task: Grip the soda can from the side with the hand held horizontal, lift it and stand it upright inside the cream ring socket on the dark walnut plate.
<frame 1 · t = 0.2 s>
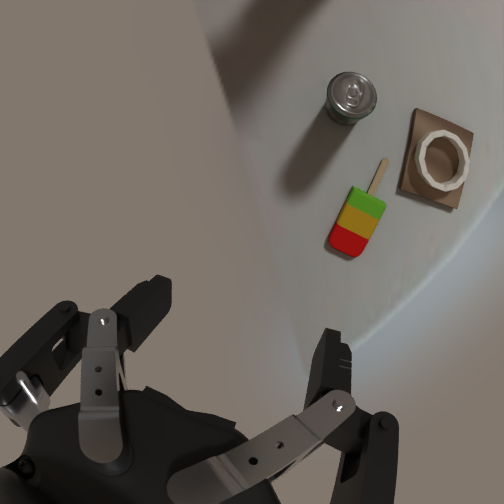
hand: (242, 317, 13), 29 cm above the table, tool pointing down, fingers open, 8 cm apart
socket plate: (437, 159, 31), on the table
popsicle: (363, 204, 37), on the table
soda can: (343, 108, 32), on the table
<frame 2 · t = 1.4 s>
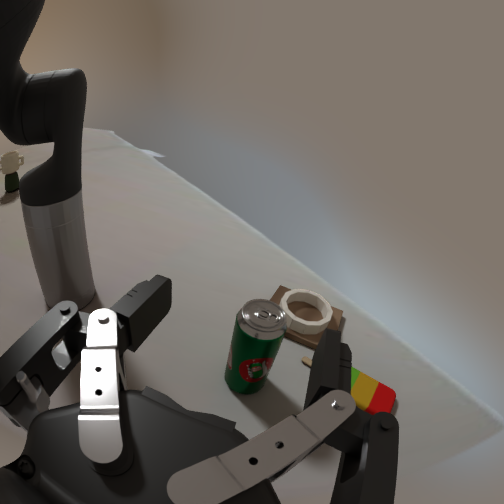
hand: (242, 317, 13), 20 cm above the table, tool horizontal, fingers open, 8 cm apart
socket plate: (301, 319, 43), on the table
popsicle: (344, 388, 33), on the table
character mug: (12, 190, 65), on the table
soda can: (243, 380, 32), on the table
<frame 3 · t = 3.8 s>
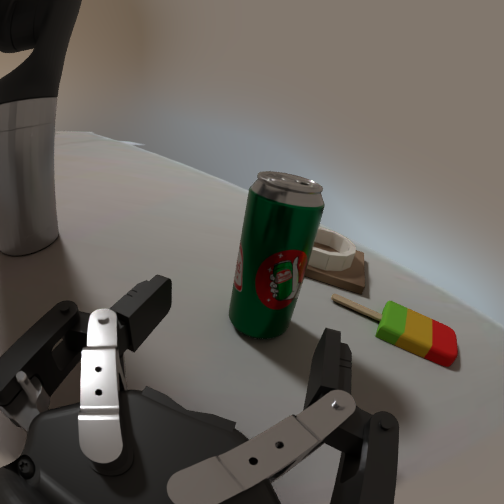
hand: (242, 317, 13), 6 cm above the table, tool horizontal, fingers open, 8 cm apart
socket plate: (318, 260, 35), on the table
popsicle: (391, 332, 25), on the table
soda can: (257, 323, 23), on the table
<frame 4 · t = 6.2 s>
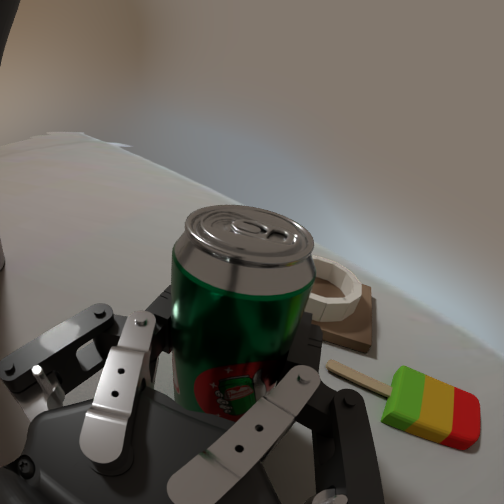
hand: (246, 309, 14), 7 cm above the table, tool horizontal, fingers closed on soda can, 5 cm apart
socket plate: (312, 301, 27), on the table
popsicle: (402, 407, 17), on the table
soda can: (217, 413, 15), on the table, touching gripper
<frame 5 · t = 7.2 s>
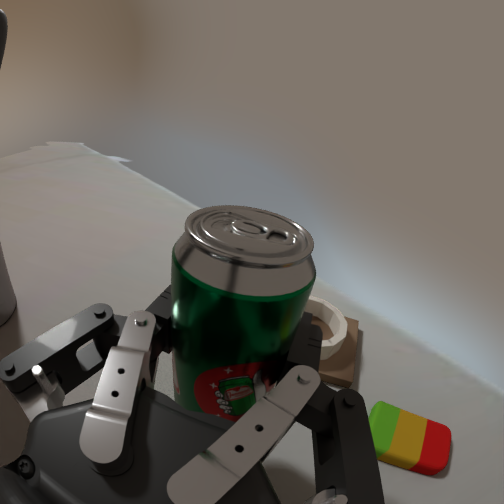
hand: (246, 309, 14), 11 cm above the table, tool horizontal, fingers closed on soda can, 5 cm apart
socket plate: (301, 338, 29), on the table
popsicle: (377, 437, 18), on the table
soda can: (217, 413, 15), point 5 cm above the table, touching gripper
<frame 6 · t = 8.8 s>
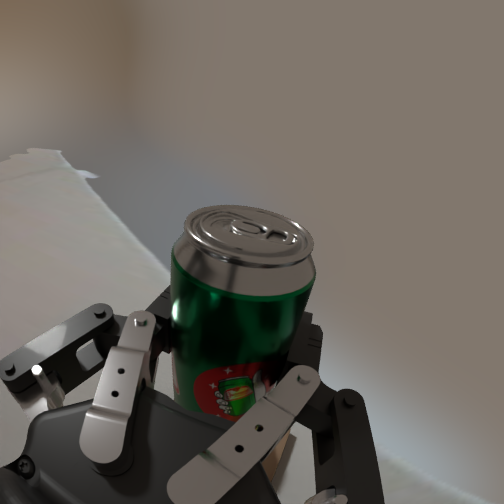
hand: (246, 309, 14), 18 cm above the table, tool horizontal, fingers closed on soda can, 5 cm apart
socket plate: (215, 449, 21), on the table
soda can: (217, 413, 15), point 11 cm above the table, touching gripper
when the fingers open (9 cm above the table, at t = 11.5 s): soda can drops 1 cm, resting on socket plate.
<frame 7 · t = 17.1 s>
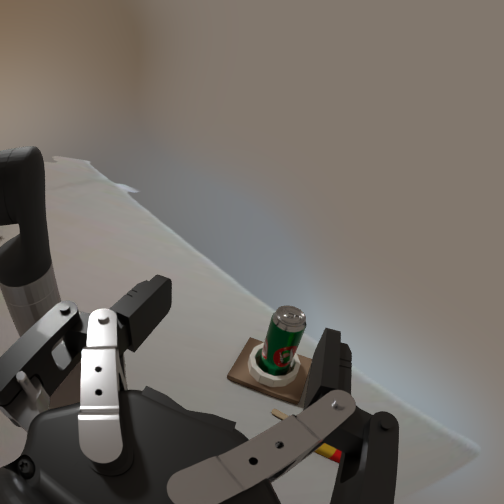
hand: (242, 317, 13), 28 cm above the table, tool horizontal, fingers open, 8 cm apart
socket plate: (271, 371, 44), on the table
popsicle: (312, 436, 34), on the table
soda can: (272, 368, 43), point 1 cm above the table, touching socket plate
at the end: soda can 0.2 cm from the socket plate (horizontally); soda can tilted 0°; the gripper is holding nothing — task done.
